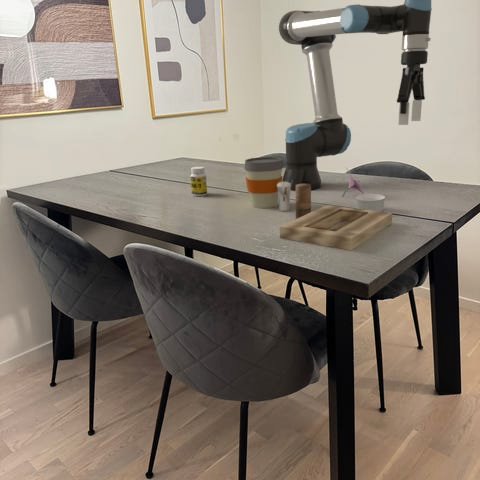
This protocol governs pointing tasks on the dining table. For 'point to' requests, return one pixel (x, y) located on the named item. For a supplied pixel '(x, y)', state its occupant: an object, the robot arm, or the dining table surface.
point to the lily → (354, 184)
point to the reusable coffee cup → (263, 180)
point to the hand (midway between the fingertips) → (409, 122)
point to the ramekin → (370, 202)
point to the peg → (303, 200)
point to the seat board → (343, 236)
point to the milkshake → (284, 195)
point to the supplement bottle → (198, 181)
